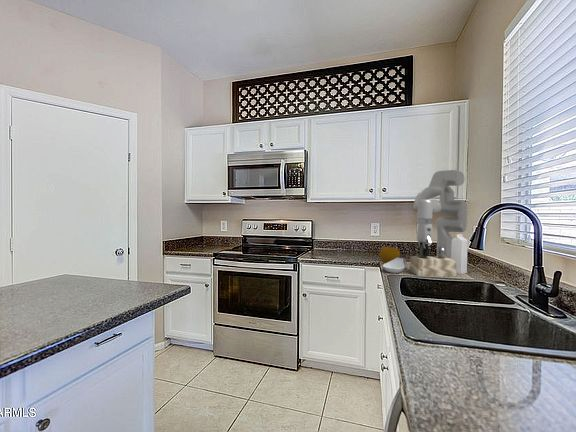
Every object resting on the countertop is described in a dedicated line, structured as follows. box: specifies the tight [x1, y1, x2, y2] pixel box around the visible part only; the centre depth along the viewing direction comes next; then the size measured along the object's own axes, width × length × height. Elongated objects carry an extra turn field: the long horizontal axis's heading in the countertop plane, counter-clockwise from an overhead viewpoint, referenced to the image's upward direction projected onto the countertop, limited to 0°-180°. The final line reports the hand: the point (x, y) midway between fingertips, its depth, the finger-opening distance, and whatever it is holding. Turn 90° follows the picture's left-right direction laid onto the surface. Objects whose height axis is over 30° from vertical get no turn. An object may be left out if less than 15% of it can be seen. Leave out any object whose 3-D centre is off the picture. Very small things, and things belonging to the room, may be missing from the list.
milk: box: [451, 233, 469, 275], centre depth 172 cm, size 6×6×22 cm
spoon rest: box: [382, 257, 408, 274], centre depth 174 cm, size 24×12×7 cm, turn 142°
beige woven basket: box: [409, 247, 457, 277], centre depth 166 cm, size 20×11×15 cm, turn 90°
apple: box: [378, 246, 401, 264], centre depth 197 cm, size 13×13×11 cm
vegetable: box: [419, 242, 427, 259], centre depth 166 cm, size 4×4×20 cm
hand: (423, 254), depth 166 cm, fingers closed on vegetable, 4 cm apart
